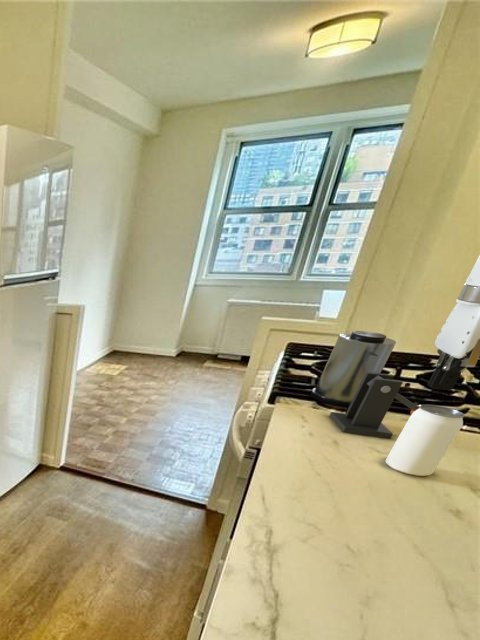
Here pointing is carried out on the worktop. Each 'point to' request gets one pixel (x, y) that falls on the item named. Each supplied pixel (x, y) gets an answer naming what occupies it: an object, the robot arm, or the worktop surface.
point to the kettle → (351, 366)
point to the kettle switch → (401, 399)
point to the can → (425, 440)
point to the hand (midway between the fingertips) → (439, 387)
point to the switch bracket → (369, 406)
